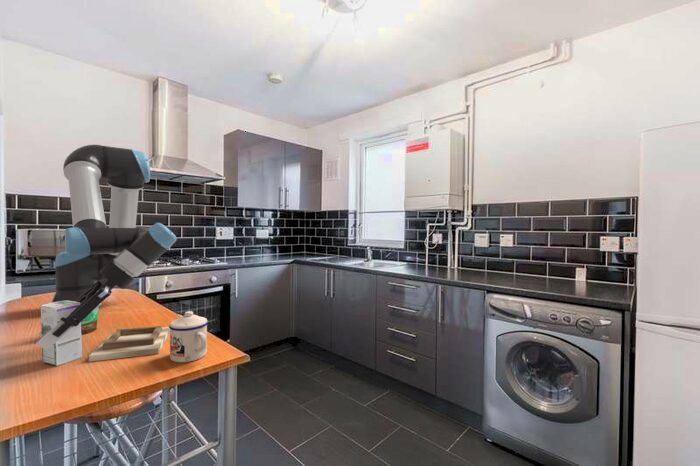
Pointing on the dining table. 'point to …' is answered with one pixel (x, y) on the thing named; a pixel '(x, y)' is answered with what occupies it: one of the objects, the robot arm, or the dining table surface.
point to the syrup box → (69, 342)
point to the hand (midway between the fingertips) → (42, 341)
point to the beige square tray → (131, 343)
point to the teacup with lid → (188, 338)
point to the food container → (90, 322)
